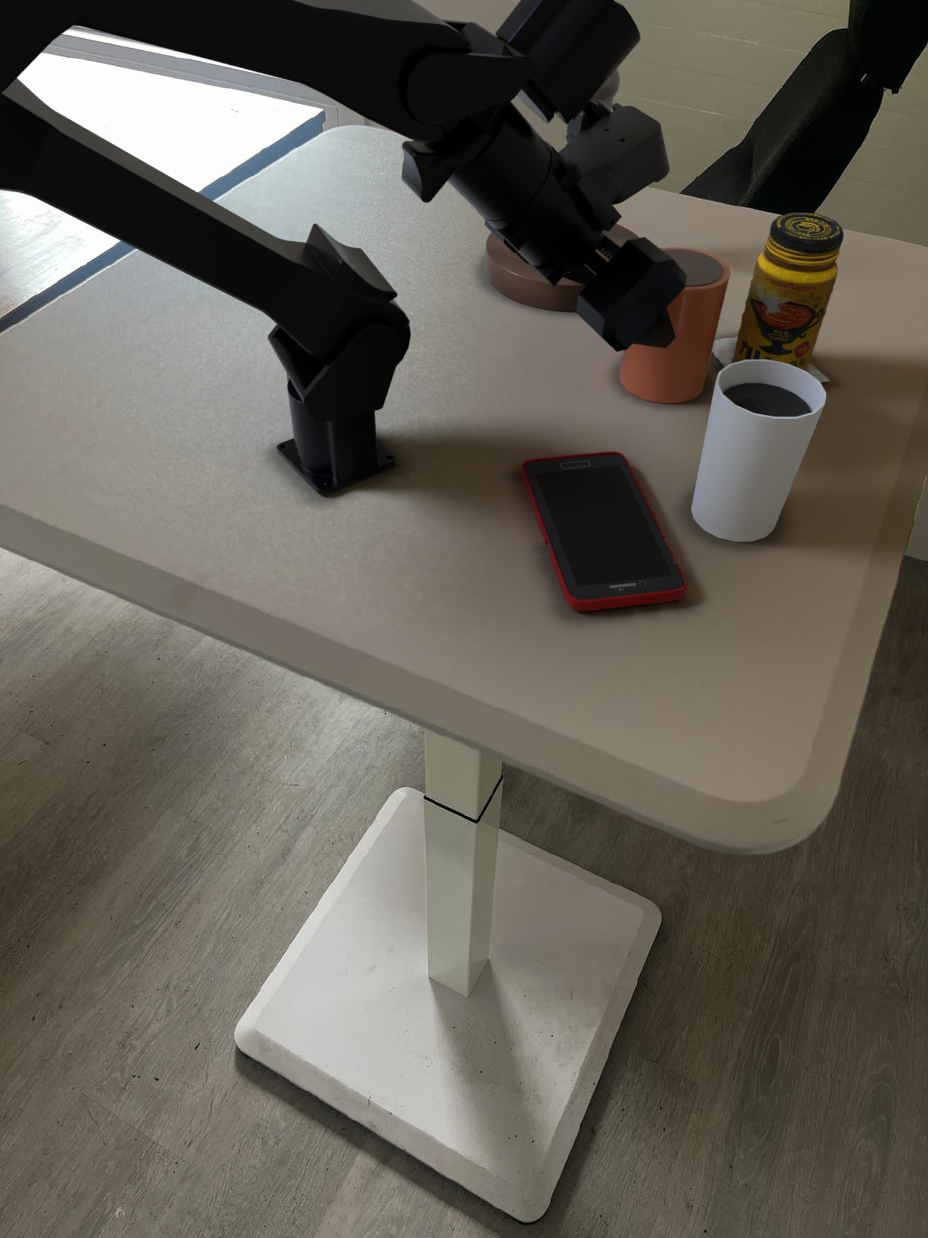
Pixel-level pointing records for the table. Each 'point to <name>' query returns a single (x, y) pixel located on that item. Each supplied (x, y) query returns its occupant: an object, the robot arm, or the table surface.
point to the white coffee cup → (754, 446)
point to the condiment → (788, 294)
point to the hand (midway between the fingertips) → (636, 312)
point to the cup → (681, 334)
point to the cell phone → (601, 532)
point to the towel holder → (524, 278)
